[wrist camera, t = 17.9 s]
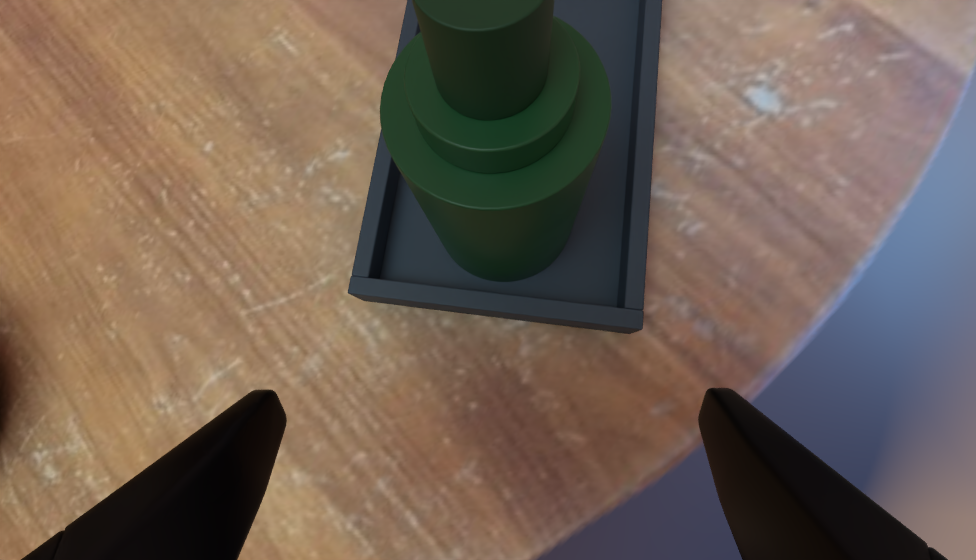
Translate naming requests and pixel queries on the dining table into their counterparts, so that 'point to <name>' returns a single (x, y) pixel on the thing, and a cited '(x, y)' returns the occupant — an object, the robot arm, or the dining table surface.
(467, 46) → the bottle
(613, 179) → the tray
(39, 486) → the dining table surface
